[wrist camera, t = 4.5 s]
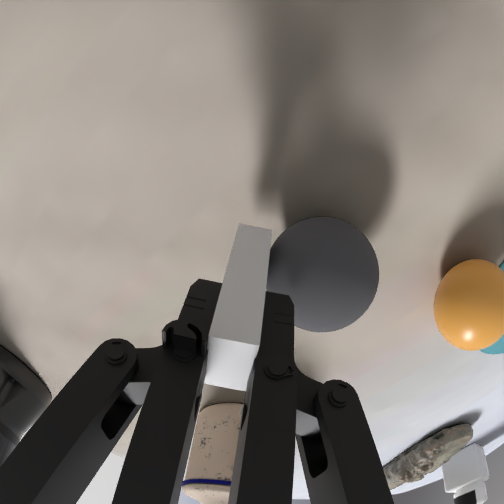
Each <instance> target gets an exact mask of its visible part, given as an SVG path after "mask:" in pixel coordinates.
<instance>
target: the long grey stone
mask: <svg viewBox="0 0 504 504" xmlns="http://www.w3.org/2000/svg"><path fill="white" fill-rule="evenodd" d="M472 436H473V429H472V427H471V425H470V424H468V423H467V424H460V425H457V426H453V427H451V428H445V429H442V430H441V431H440V432H438V433H436V434H434V435H433V436H431V437H429V438H427V439H425V440H423V441H421V442H419V443H417V444H416V445H414V446H413V447H411V448H410V449H409V450H408V451H405V452H403V453H400V454H399V456H398V457H395V459H394V460H393V461H392V462H390V463H388V464H387V465H386V466H384V467H383V470H384V473H385V476H386V480H387V483H388V486H389V489H390V490H392V489H394V488H396V487H398V486H400V485H402V484H403V483H405V482H408V483H409V482H411V483H412V482H414V481H419V480H421V479H422V478H424V476H423V475H426V474H427V473H431V472H433V471H434V470H436V469H437V468H439V467H440V466H442V465H443V464H445V463H446V462H448V461H449V460H450V458H451V457H452V456H453V455H455V454H456V453H457V452H458V451H460V450H461V449H462V447H464V446H465V445H466V444H467V443H468V442H469V441H470V440H471V439H472Z"/></svg>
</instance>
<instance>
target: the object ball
mask: <svg viewBox="0 0 504 504" xmlns="http://www.w3.org/2000/svg"><path fill="white" fill-rule="evenodd" d="M434 317H435V321H436V324H437V327H438V329H439V331H440V333H441V334H442V335H443V337H444V338H445V339H446V340H447V341H448V342H449V343H450V344H452V345H453V346H455V347H457V348H459V349H463V350H468V351H476V350H481V349H484V348H487V347H489V346H491V345H492V344H494V343H495V342H497V341H498V340H499V339H500V338H501V337H502V336H503V335H504V271H503V270H502V269H501V268H499V267H498V266H497V265H495V264H494V263H492V262H489V261H486V260H482V259H471V260H467V261H464V262H461V263H459V264H457V265H456V266H454V267H453V268H452V269H450V270H449V271H448V272H447V273H446V275H445V276H444V277H443V279H442V280H441V282H440V284H439V286H438V288H437V291H436V294H435V299H434Z"/></svg>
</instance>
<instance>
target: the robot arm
mask: <svg viewBox="0 0 504 504" xmlns="http://www.w3.org/2000/svg"><path fill="white" fill-rule="evenodd" d="M271 236H272V230H270V229H265V228H260V227H254V226H249V225H244V224H239V226H238V230H237V233H236V237H235V240H234V244H233V247H232V251H231V255H230V258H229V262H228V265H227V269H226V273H225V276H224V280H223V283H218V282H213V281H208V280H203V279H198V280H197V281H196V282H195V283H194V284H192V285H191V286H190V289H189V292H188V294H187V298H186V299H185V302H184V306H183V307H182V310H181V313H180V315H179V318H178V320H175V321H172V322H170V323H168V324H167V325H166V326H165V327H164V329H163V330H162V342H163V345H161V346H158V347H154V348H135V347H134V346H133V345H132V344H131V343H130V342H129V341H127V340H124V339H110V340H107V341H105V342H104V343H102V344H101V345H100V346H99V347H98V348H97V349H96V350H95V351H94V353H93V354H92V355H91V356H90V357H89V358H88V359H87V361H86V362H85V363H84V364H83V365H82V366H81V368H80V369H79V370H78V371H77V372H76V373H75V375H74V376H73V377H72V378H71V379H70V380H69V382H68V383H67V384H66V385H65V386H64V388H63V389H62V390H61V391H60V392H59V394H58V395H57V396H56V397H55V398H54V400H53V401H52V402H51V400H52V398H51V395H50V393H49V391H48V389H47V388H46V387H45V385H44V384H43V383H42V382H41V381H40V379H39V378H38V377H37V376H36V375H35V374H34V373H33V372H32V371H31V370H30V369H28V368H27V367H26V366H25V365H24V364H23V363H22V362H21V361H19V360H18V359H17V358H16V357H15V356H13V355H12V354H11V353H10V352H8V351H7V350H6V349H4V348H3V347H1V346H0V504H76V502H77V501H78V500H79V498H80V496H81V495H82V494H83V492H84V491H85V489H86V488H87V486H88V485H89V483H90V482H91V480H92V479H93V477H94V476H95V474H96V473H97V472H98V470H99V468H100V467H101V466H102V464H103V463H104V461H105V460H106V458H107V457H108V455H109V454H110V452H111V451H112V449H113V448H114V446H115V445H116V443H117V442H118V440H119V439H120V437H121V436H122V435H123V433H124V432H125V430H126V429H127V427H128V426H129V424H130V423H131V421H132V420H133V418H134V417H135V415H136V414H137V412H138V411H139V409H140V408H141V407H142V409H141V412H140V415H139V418H138V421H137V424H136V427H135V430H134V433H133V436H132V439H131V442H130V445H129V448H128V451H127V455H126V458H125V461H124V465H123V468H122V471H121V474H120V477H119V481H118V484H117V487H116V491H115V494H114V498H113V501H112V504H178V500H179V496H180V491H181V486H182V482H183V477H184V473H185V468H186V464H187V459H188V455H189V450H190V446H191V441H192V437H193V433H194V428H195V424H196V419H197V415H198V411H199V406H200V402H201V398H202V389H203V385H204V383H205V384H209V385H214V386H219V387H224V388H230V389H235V390H241V391H246V396H245V400H244V403H243V407H242V410H241V413H240V415H241V421H240V428H239V435H238V441H237V448H236V455H235V461H234V468H233V474H232V480H231V487H230V493H229V500H228V504H291V503H292V489H293V473H294V456H295V435H296V440H297V444H298V448H299V453H300V457H301V462H302V466H303V470H304V475H305V479H306V484H307V488H308V493H309V497H310V501H311V504H394V502H393V499H392V495H391V492H390V489H389V486H388V483H387V480H386V476H385V473H384V470H383V467H382V464H381V461H380V458H379V455H378V452H377V449H376V446H375V443H374V440H373V437H372V434H371V431H370V428H369V425H368V423H367V420H366V417H365V414H364V411H363V408H362V406H361V403H360V400H359V397H358V394H357V393H356V391H355V389H354V388H353V387H352V386H351V385H350V384H348V383H347V382H344V381H342V380H330V381H327V382H325V383H324V384H322V383H320V382H318V381H315V380H313V379H311V378H309V377H307V376H305V375H304V374H303V373H301V372H300V371H299V369H298V368H297V367H296V364H295V362H294V304H293V302H292V300H291V298H290V296H289V295H285V294H279V293H274V292H269V291H266V284H267V275H268V265H269V255H270V246H271ZM50 402H51V403H50ZM49 404H50V405H49ZM142 405H143V406H142ZM32 425H33V426H32ZM31 426H32V427H31ZM30 427H31V428H30ZM29 428H30V429H29ZM28 429H29V431H28V432H27V433H26V434H25V436H24V437H23V438H22V440H21V441H20V439H21V437H22V435H23V433H25V432H26V431H27V430H28ZM19 441H20V442H19Z"/></svg>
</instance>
